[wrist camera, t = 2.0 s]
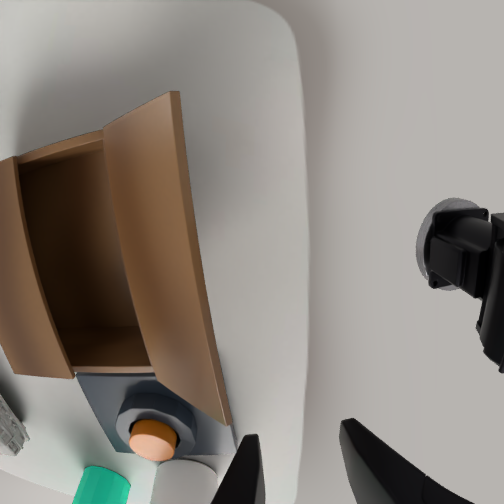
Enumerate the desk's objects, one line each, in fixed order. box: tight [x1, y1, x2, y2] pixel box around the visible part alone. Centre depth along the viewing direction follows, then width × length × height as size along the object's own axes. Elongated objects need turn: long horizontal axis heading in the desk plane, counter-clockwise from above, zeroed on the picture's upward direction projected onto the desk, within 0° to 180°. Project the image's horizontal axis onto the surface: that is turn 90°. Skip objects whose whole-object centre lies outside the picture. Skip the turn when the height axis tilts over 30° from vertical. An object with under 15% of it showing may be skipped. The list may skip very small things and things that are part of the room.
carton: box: [0, 129, 154, 379], centre depth 17 cm, size 11×13×6 cm
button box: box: [76, 372, 237, 459], centre depth 23 cm, size 12×10×3 cm
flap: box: [103, 91, 233, 427], centre depth 12 cm, size 5×13×1 cm
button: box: [129, 419, 177, 461], centre depth 21 cm, size 4×4×2 cm
